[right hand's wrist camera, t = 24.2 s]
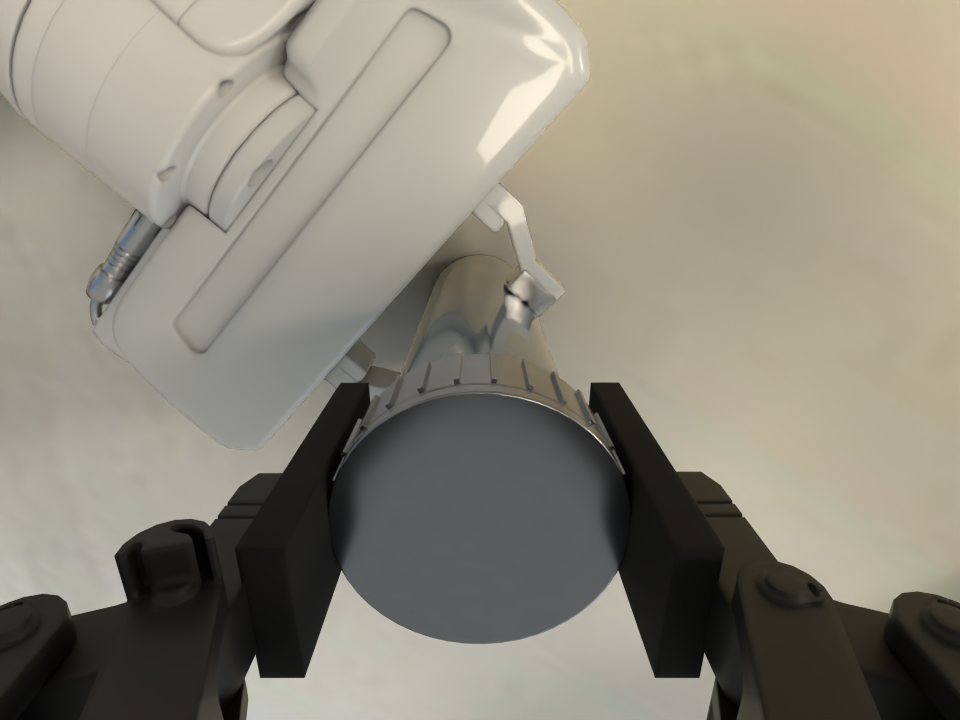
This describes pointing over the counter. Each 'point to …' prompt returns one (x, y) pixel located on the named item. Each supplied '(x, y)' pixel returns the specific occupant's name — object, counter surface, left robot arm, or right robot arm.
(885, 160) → the counter surface
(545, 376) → the lid
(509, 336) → the jar
